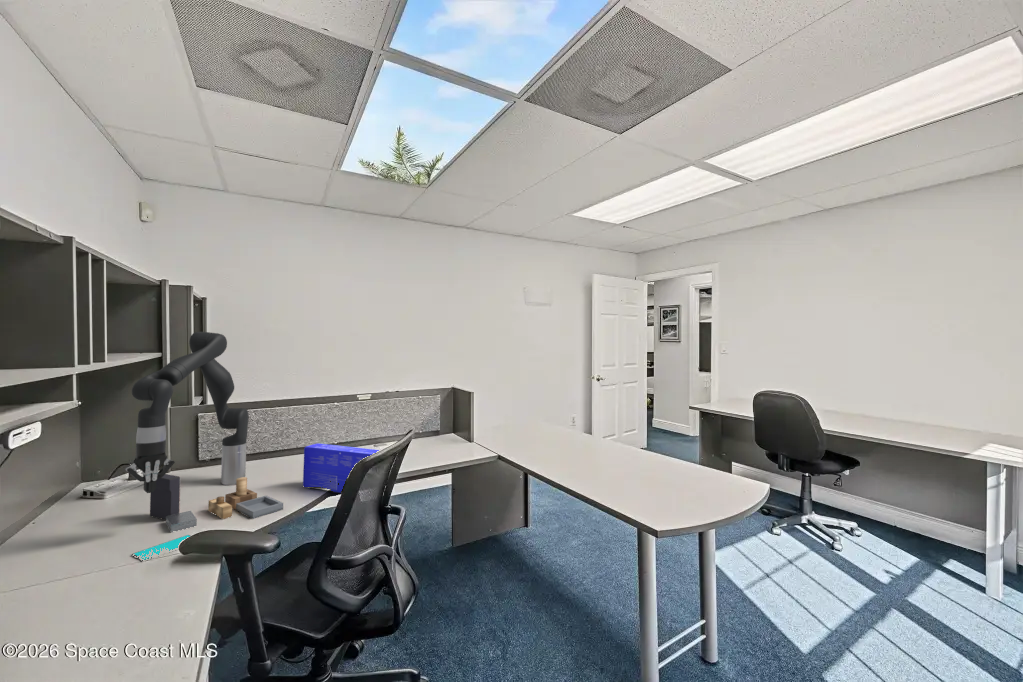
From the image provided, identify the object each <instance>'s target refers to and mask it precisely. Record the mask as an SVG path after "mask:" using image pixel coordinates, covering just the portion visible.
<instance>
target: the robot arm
mask: <svg viewBox="0 0 1023 682" xmlns="http://www.w3.org/2000/svg"><path fill="white" fill-rule="evenodd" d="M188 344H189V348H190V352H191V353H189V354H185V355H182V356H179V357H177V358H174V359H173V360H172V361H170V362H169V363H167V364H166V365H165V366H163V367H162V368H161V369H159V370H156V371H154V372H152V373H149V374H147V375H145V376H143V377H142V378H139V379H138V380H137V381H136V382H135V383H134V384H133V386H132V388H131V395H132V397H134V399H136V400H137V401H147V402H148V401H149V402H150V401H152V404H151V405H150V407H145V408H142V409H139V411H138V413H137V429H136V430H137V431H136V434H135V436H136V437H135V458H134V460H133V463H132V464H131V465H129V466H126V467H125V468H124V471H125V472H127V473H128V474H129V475H130V476H132V477H133V478H134V479H135V480H136V481H139V482H143V491H144V492H146V493H147V494H151V492H154V490H155V489H156V480H157V479H158V478H161V477H163V476H164V475H165V474H167V473H168V472H169V470H170V469H171V468H172V467H173V465H174V464H175V461H174V460H173V459H170V458H168V455H167V454H166V450H167V447H166V445H167V444H166V443H167V427H166V419H167V417H166V416H167V415H166V413H167V410H168V407H169V405H170V402H171V399H172V397H173V393H174V387H175V386H176V385H178V384H179V383H182V381H183V380H185V379H186V378H187V377H188V376H189V375H190V374H192V373H193V372H194V371H196V370H197V369H199V368H200V371H201V373H202V376H203V379H204V381H205V385H206V387H207V390H208V392H209V394H210V397H211V400H212V403H213V406H214V411H215V414H216V418H217V422H218V426H219V427H220V428H221V429H224V430H236V431H235V432H234V434H231V435H228V436H226V437H224V438H222V441H221V472H220V473H221V475H220V477H221V478H220V484H221V485H225V486H234V485H236V479H237V478H241V477H246V474H247V473H246V469H247V467H246V466H247V440H248V439H247V438H248V428H249V427H248V426H249V411H248V409H247V408H246V407H245V408H244V407H243V408H242V407H239V408H238V407H233V408H232V407H231V408H230V407H228V401H229V399H230V398H231V396H232V395H233V393H234V391H235V383H234V380H233V378H232V374H231V373H230V371H229V370H227V368H225V367H224V366H223V365H222V364H221V363H219V362H218V361H217V360H216V359H217V358H218V357H220V356H221V355H223V353H225V351H226V349H227V347H228V340H227V337H226V336H225V335H224V334H223V333H218V332H207V331H196V332H193V333H192V334H191V335H190V337H189V343H188ZM173 386H174V387H173ZM162 465H163V466H162ZM137 468H138V469H139V470H140V471H142V476H141V475H140V474H139V473H138V472H137ZM159 469H160V470H159Z"/></svg>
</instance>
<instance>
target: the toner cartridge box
mask: <svg viewBox="0 0 1023 682" xmlns="http://www.w3.org/2000/svg"><path fill="white" fill-rule="evenodd" d="M303 448H304V449H303V470H302V471H303V473H302V476H303V477H302V487H303V486H304V487H321V488H322V487H323V488H327V489H331V491H333V492H332V493H337V494H342V493H341V491H342V489H343V486H344V484H345V481H346V479H347V477H348V475H349V473H350V471H351V470H352V468H353V467H354V465H355V464H356V463H358V462H359V461H360V460H362V459H363V458H365V457H367V456H370V455H372V454H373V453H376V452H377V451H379V450H380V449H375V448H365V447H364V448H363V447H355V446H346V445H345V446H344V445H337V444H326V443H319V442H318V443H313V444H310V445H306V446H304V447H303ZM330 481H331V482H330ZM338 483H339V485H338Z"/></svg>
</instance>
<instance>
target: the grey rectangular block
mask: <svg viewBox="0 0 1023 682" xmlns="http://www.w3.org/2000/svg"><path fill="white" fill-rule="evenodd" d="M197 521H198V519H197V517H196V516H195V514H194V513H193V512H192V510H187V511H183V512H182V511H181V512H180V513H177V514H173V515H168V516H166V520H165V524H166V527H167V528H168V530H169V529H170V530H169V532H170V531H171V532H172V533H174V532H173V531H176V532H179V531H178V530H180V531H183V530H182V529H184V530H187V529H186V528H188V529H191V528H190V527H193V528H195V527H194V526H197V523H198V522H197ZM171 532H170V533H171Z"/></svg>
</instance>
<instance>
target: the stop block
mask: <svg viewBox="0 0 1023 682" xmlns="http://www.w3.org/2000/svg"><path fill="white" fill-rule="evenodd" d="M207 504H208V509H207V512H209V511H210V513H211V512H212V513H211V514H213V513H214V514H216V515H217V516H216V515H215V516H216V517H218V516H219V517H218V518H220V519H222V520H225V519H228V517H229V518H232V517H233V508H232V505H230V504H228V503H226V502H225V496H218V497H216V498H212V499H209V500H208V503H207ZM214 514H213V515H214ZM231 516H232V517H231Z"/></svg>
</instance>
